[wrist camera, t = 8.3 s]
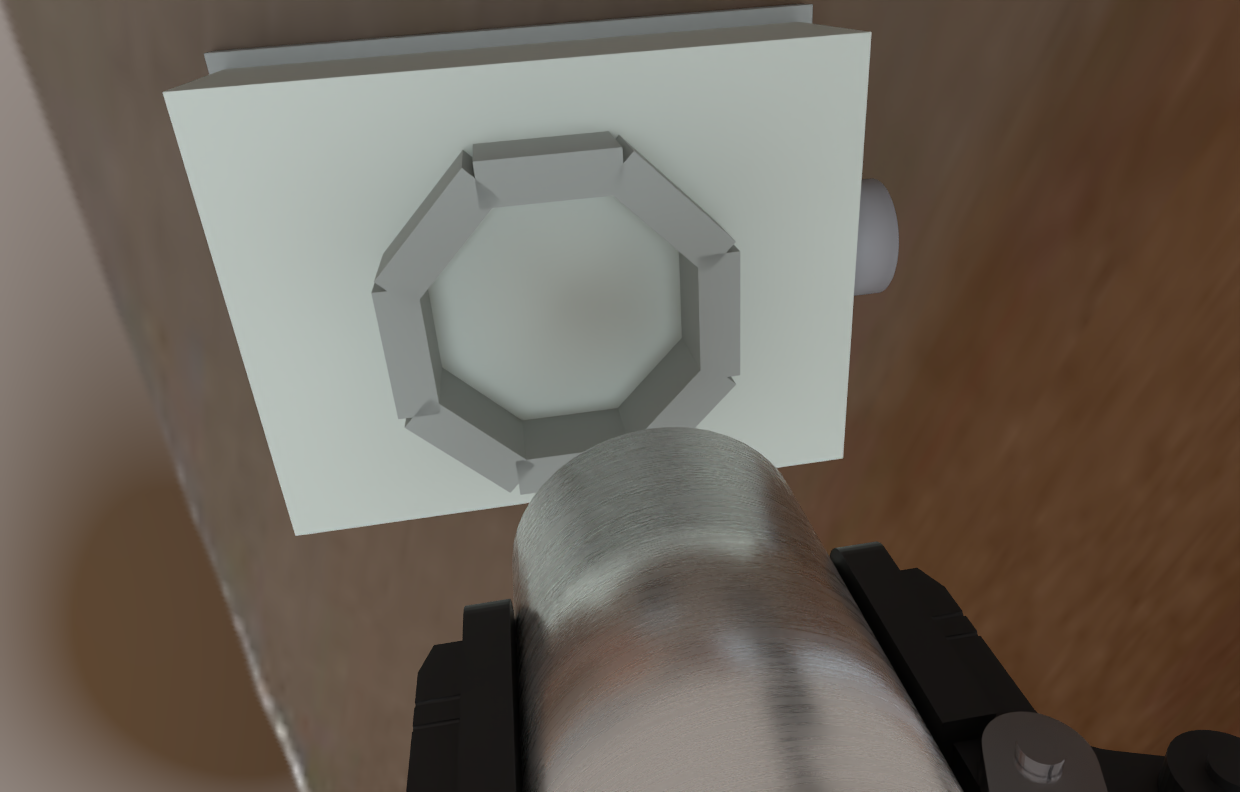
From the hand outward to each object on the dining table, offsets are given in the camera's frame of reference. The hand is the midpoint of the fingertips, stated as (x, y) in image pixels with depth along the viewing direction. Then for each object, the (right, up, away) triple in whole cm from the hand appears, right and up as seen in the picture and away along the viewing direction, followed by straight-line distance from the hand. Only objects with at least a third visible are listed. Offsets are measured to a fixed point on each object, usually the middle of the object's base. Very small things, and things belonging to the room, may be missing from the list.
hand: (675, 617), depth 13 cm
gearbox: (-4, +9, +18) cm, 21 cm away
